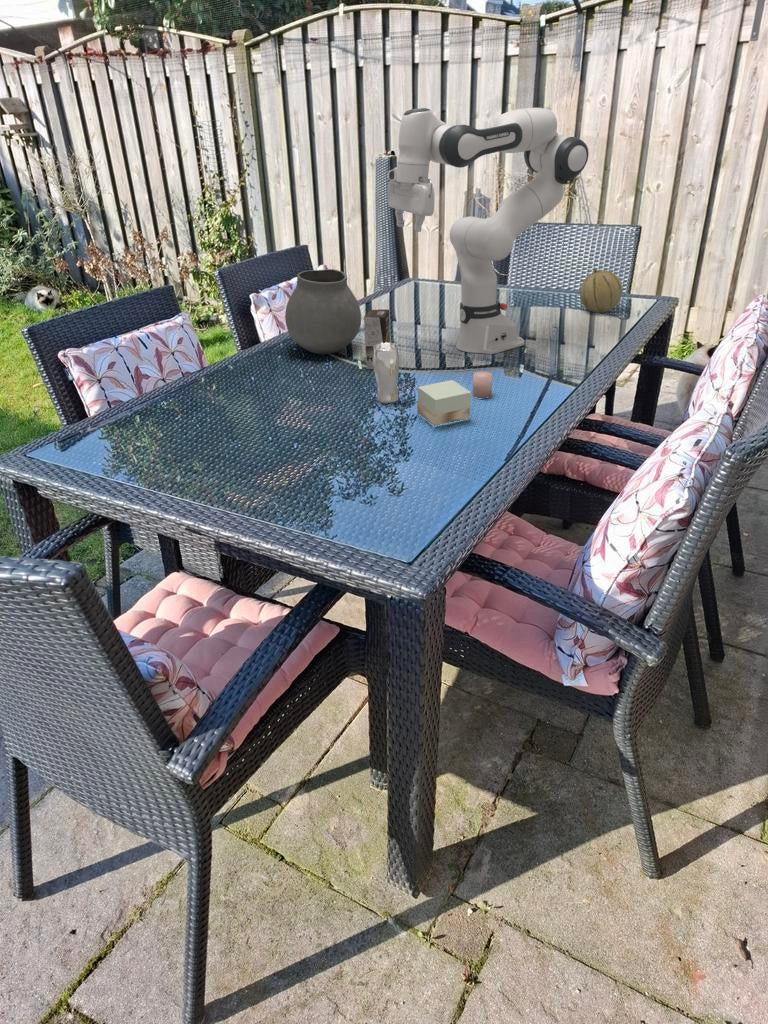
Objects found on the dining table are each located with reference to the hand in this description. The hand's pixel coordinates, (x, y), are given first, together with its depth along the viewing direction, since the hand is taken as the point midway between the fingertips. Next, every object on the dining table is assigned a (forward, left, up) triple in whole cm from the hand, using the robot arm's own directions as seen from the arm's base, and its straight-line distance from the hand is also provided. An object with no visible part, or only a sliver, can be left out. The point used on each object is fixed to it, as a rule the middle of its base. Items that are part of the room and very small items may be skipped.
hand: (408, 229), depth 199 cm
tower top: (+11, +45, -35) cm, 58 cm away
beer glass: (+19, +26, -39) cm, 51 cm away
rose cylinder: (-5, +36, -39) cm, 53 cm away
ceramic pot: (+20, -24, -39) cm, 50 cm away
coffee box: (+10, -2, -39) cm, 41 cm away
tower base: (+11, +44, -39) cm, 60 cm away
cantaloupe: (-83, -15, -39) cm, 93 cm away
